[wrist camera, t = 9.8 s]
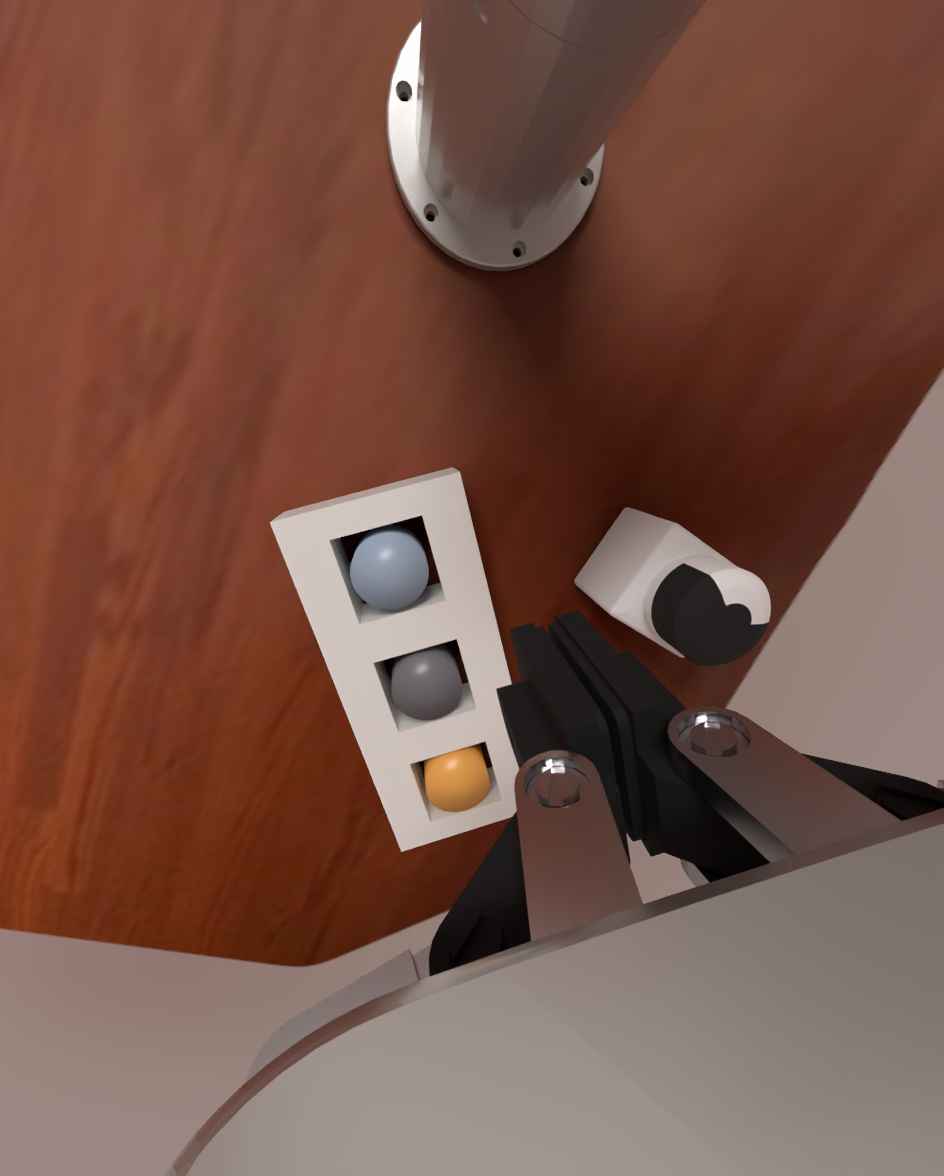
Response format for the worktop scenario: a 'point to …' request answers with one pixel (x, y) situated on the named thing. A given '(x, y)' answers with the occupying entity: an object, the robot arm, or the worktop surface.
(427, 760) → the orange button
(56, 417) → the worktop surface
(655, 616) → the medicine bottle
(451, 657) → the charcoal button
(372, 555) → the slate button
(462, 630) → the frame
